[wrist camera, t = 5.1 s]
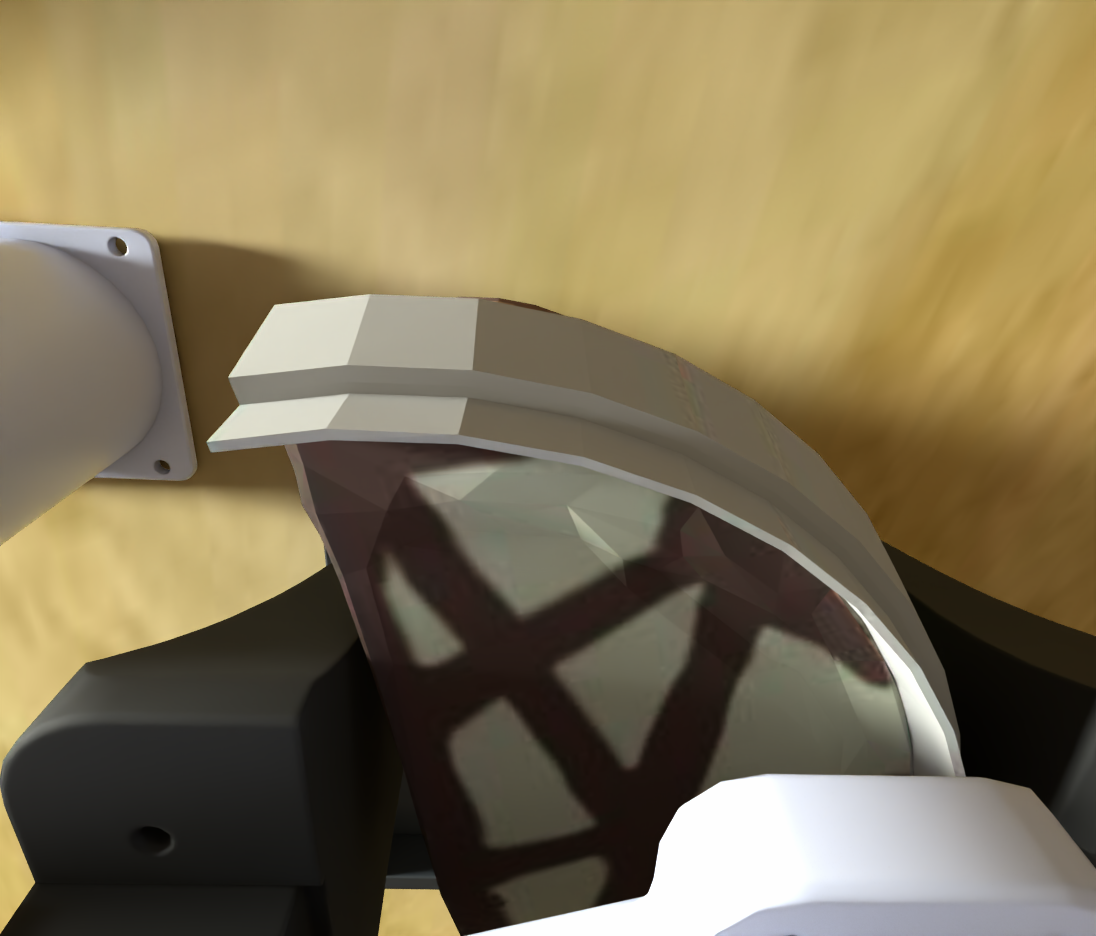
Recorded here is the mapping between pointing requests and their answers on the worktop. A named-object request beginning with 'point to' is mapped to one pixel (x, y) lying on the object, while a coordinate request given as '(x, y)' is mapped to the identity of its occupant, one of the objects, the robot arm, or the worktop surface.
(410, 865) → the tray
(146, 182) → the worktop surface
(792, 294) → the worktop surface
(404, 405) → the food container
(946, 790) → the robot arm
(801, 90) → the worktop surface
